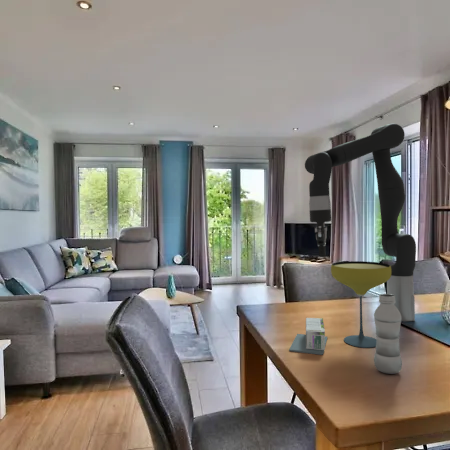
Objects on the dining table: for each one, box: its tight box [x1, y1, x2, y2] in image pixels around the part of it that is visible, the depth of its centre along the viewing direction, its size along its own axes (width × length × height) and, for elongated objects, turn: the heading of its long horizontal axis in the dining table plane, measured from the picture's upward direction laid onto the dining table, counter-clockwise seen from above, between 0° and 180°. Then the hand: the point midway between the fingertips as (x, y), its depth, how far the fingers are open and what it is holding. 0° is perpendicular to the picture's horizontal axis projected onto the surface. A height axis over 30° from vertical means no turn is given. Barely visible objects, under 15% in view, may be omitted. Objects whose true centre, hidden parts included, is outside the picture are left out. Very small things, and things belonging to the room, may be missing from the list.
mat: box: [288, 333, 328, 356], centre depth 112 cm, size 10×15×1 cm, turn 159°
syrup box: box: [305, 317, 326, 351], centre depth 113 cm, size 6×6×14 cm
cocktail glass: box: [330, 260, 392, 349], centre depth 113 cm, size 18×18×25 cm
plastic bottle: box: [373, 293, 403, 375], centre depth 91 cm, size 6×7×20 cm
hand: (322, 256), depth 127 cm, fingers closed
